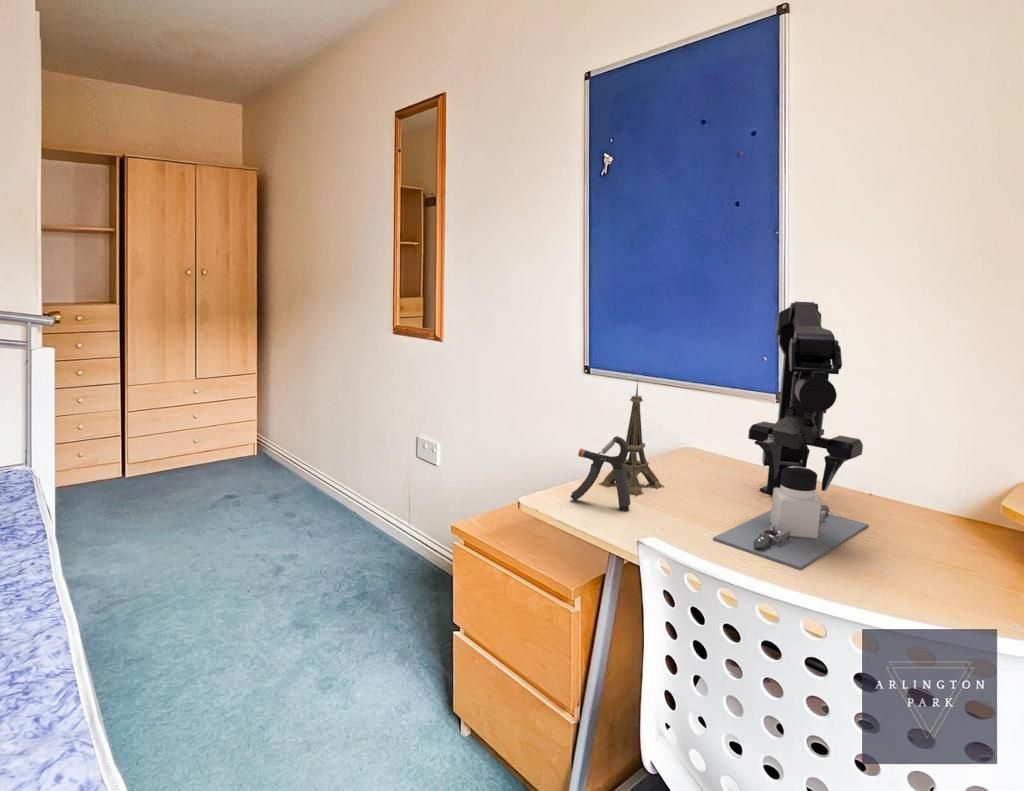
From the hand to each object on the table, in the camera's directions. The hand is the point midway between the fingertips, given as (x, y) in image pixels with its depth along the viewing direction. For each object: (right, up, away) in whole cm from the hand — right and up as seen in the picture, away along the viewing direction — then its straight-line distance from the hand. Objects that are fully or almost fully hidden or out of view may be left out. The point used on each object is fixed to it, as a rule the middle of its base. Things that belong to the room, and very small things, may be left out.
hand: (798, 484), depth 121 cm
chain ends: (0, -9, +2) cm, 10 cm away
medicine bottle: (0, -9, +2) cm, 9 cm away
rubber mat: (0, -9, +2) cm, 10 cm away
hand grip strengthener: (-35, -7, +14) cm, 38 cm away
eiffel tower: (-26, -4, +28) cm, 38 cm away
